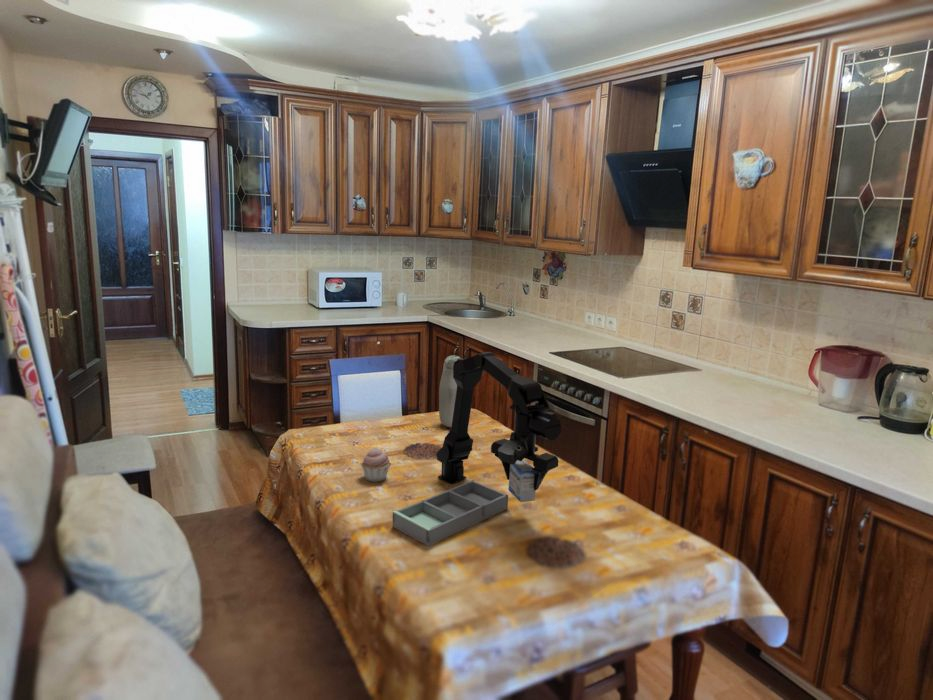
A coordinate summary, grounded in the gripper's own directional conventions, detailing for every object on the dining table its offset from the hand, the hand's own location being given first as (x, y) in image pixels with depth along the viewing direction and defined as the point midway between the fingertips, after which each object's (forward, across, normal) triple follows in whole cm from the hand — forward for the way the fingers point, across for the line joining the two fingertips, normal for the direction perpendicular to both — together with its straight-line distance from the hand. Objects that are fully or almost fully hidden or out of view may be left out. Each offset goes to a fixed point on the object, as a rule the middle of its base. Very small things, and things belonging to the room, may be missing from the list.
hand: (522, 484), depth 168 cm
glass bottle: (+10, -66, +40) cm, 78 cm away
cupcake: (+10, -47, -12) cm, 50 cm away
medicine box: (+3, 0, 0) cm, 3 cm away
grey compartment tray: (+10, -13, -13) cm, 21 cm away
